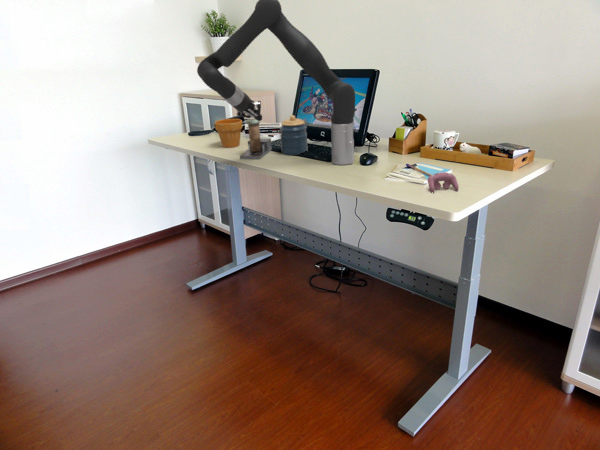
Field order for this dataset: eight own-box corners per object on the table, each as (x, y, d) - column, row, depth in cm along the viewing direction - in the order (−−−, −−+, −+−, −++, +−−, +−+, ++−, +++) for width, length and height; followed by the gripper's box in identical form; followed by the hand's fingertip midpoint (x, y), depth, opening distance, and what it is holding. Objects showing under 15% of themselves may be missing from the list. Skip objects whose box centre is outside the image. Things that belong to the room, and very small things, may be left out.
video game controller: (454, 192, 145) (453, 172, 145) (460, 190, 141) (458, 170, 141) (427, 194, 145) (425, 174, 145) (431, 192, 140) (429, 172, 141)
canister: (313, 151, 201) (312, 114, 194) (295, 157, 193) (292, 118, 186) (294, 147, 210) (292, 112, 202) (275, 153, 201) (273, 116, 194)
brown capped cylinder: (263, 149, 202) (261, 118, 196) (259, 152, 197) (257, 121, 191) (252, 148, 204) (249, 118, 198) (248, 152, 199) (244, 121, 193)
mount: (271, 149, 208) (270, 138, 206) (260, 159, 192) (258, 147, 190) (253, 149, 210) (252, 138, 208) (240, 159, 195) (238, 147, 192)
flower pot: (247, 142, 226) (244, 118, 220) (241, 148, 213) (238, 123, 208) (222, 143, 227) (218, 119, 222) (214, 149, 215) (211, 124, 209)
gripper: (249, 84, 168) (273, 107, 182) (224, 95, 174) (248, 116, 188) (249, 99, 165) (273, 121, 179) (223, 110, 171) (248, 130, 185)
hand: (260, 118), depth 183 cm, fingers closed
